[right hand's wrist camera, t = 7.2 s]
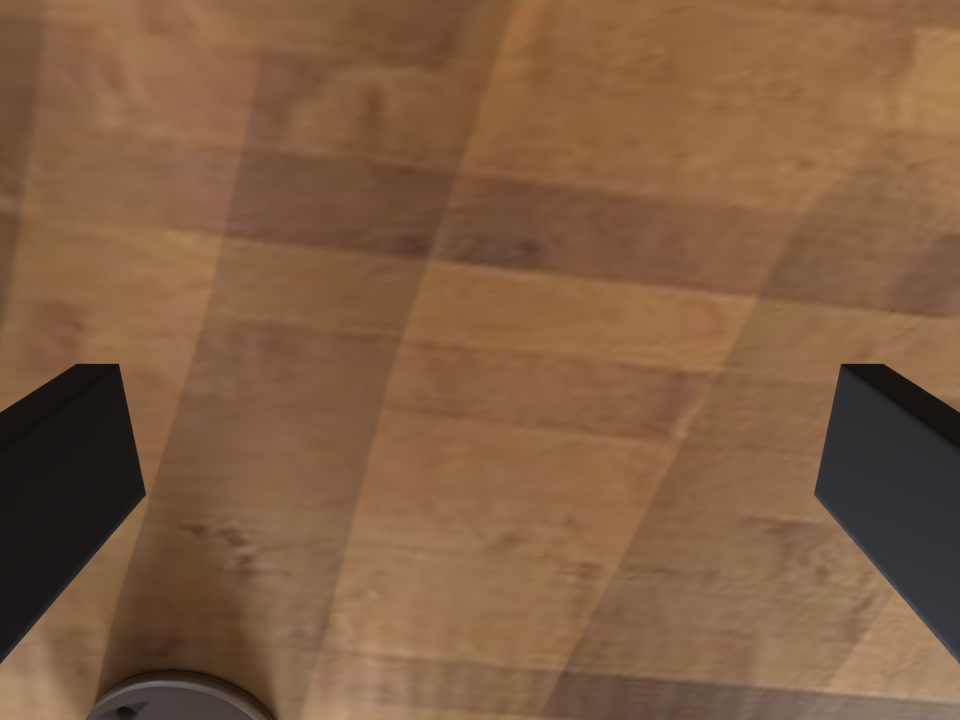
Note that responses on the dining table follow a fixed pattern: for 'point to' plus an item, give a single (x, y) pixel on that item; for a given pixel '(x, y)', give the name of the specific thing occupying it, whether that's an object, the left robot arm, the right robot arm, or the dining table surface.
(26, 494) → the right robot arm
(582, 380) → the dining table surface
